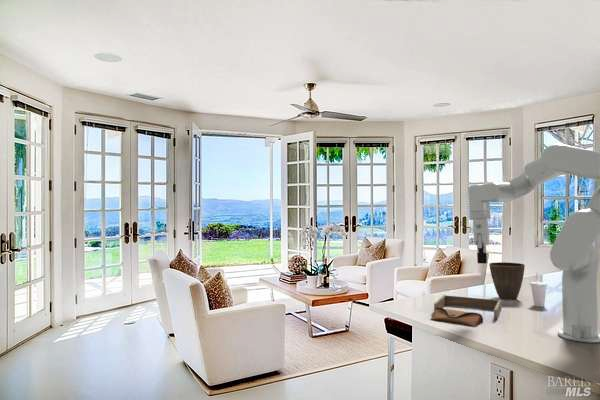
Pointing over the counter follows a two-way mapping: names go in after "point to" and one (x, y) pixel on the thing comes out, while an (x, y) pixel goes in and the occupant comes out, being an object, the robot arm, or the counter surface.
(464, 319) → the sunglasses case
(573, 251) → the robot arm
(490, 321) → the counter surface
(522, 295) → the counter surface
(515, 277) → the plant pot
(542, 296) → the smoothie
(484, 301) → the walnut bracket
